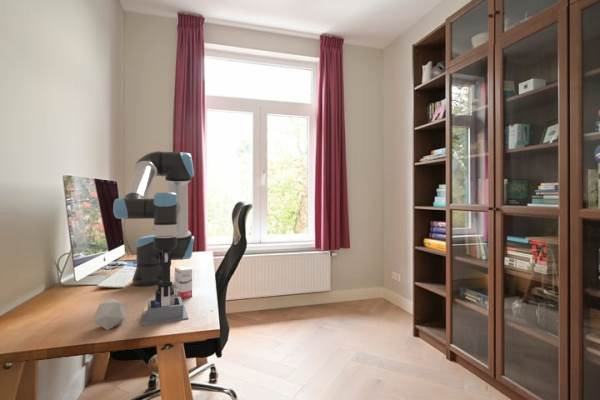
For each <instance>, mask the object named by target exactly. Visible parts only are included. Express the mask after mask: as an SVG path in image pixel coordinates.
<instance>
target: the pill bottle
mask: <svg viewBox="0 0 600 400" xmlns="http://www.w3.org/2000/svg"><path fill="white" fill-rule="evenodd" d="M164 283H165V282H164ZM170 283H171V285H170V305H169V306H173V305H174V297H175V294H174V293H175V288H173V281H171V280H170ZM160 285H162V282H159V283H158V284H157V290H155V292H154V293H155V295H154V298H155V299H154V300H155V308H157V307H165V306H161V287H159V286H160Z"/></svg>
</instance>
